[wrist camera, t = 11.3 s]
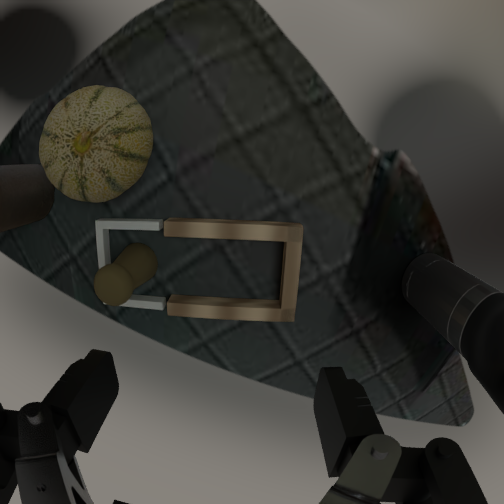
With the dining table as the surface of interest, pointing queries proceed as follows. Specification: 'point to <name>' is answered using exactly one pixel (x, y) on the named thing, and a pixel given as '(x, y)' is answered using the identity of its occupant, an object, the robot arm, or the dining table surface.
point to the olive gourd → (125, 274)
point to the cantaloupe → (96, 143)
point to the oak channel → (236, 306)
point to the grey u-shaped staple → (104, 257)
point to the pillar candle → (24, 195)
